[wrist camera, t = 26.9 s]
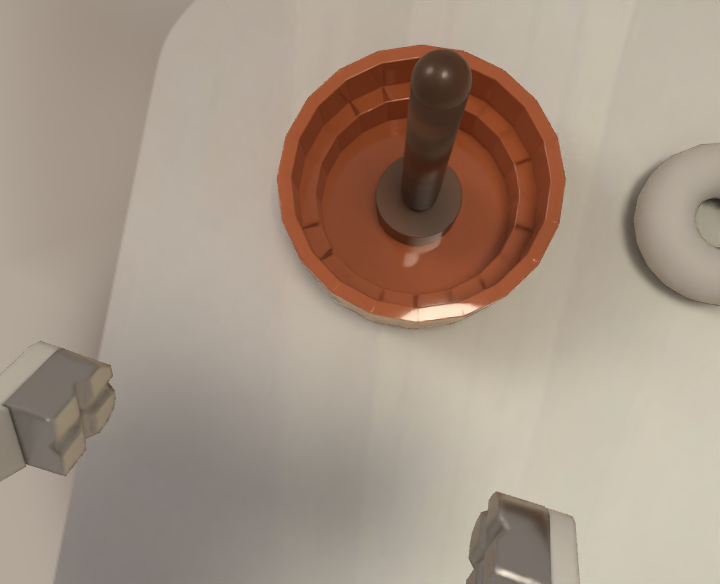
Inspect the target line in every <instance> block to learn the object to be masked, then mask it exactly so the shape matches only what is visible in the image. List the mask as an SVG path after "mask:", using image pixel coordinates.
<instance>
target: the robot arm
mask: <svg viewBox="0 0 720 584" xmlns="http://www.w3.org/2000/svg"><path fill="white" fill-rule="evenodd" d="M112 377H113V373H112V368H111V365H109V364H106V363H103V362H100V361H97V360H94V359H91V358H89V357H86V356H83V355H80V354H77V353H74V352H71V351H69V350H66V349H63V348H60V347H57V346H54V345H51V344H48V343H45V342H42V341H39V342H37V343H35V344H33V345H31V346H30V347H29V348H28V349H27V350H26V351H25V352H23V353H22V354H21V355H20V356H19V357H18V358H17V359H16V360H15V361H14V362H13V363H12V364H11V365H10V366H9V367H7V368H6V369H5V370H4V371H3V372H2V373H1V374H0V481H2V480H3V479H5V478H7V477H9V476H11V475H12V474H14V473H16V472H18V471H19V470H21V469H23V468H25V467H26V464H27V465H31V466H34V467H37V468H40V469H43V470H47V471H50V472H53V473H56V474H59V475H63V476H66V475H67V474H68V473H69V471H70V470H71V468H73V466H74V465H75V464H76V462H77V461H78V460H79V459H80V457H81V456H82V455H83V453H84V452H85V451H86V439H87V438H89V437H91V436H93V435H96V434H98V433H100V431H101V430H102V429H103V427H104V426H105V425H106V423H107V422H108V420H109V418H110V416H111V414H112V411H113V409H114V405H115V399H116V397H115V390H114V389H113V388H112V386H111V385H110V384H109V383H108V382H109V380H110V379H111V378H112ZM469 560H470V562H471V564H472V566H473V568H474V570H473V571H472V573H471V574H470V576H469V577H468V579H467V580H466V584H580V579H579V566H578V552H577V538H576V524H575V521H574V519H573V517H572V516H570V515H568V514H564V513H561V512H558V511H555V510H551V509H548V508H545V506H542V505H538V504H535V503H532V502H529V501H526V500H522V499H519V498H516V497H513V496H510V495H506V494H503V493H500V492H495V493H493V495H492V496H491V498H490V499H489V503H488V510H487V511H484V512H481V514H480V516H479V517H478V519H477V521H476V523H475V526H474V529H473V532H472V536H471V542H470V549H469Z"/></svg>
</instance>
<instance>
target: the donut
mask: <svg viewBox="0 0 720 584" xmlns="http://www.w3.org/2000/svg"><path fill="white" fill-rule="evenodd" d="M709 198H718V199H720V143H713V144H701V145H698V146H695V147H693V148H690V149H688V150H685V151H683V152H680V153H678V154H675V155H673V156H671V157H670V158H669V159H668V160H667V161H665V162H664V163H663V164H662V165H661V166H660V167H658V168H657V169H656V170H655V171H654V172H653V173H652V174H651V175H650V177H649V179H648V180H647V182H646V184H645V185H644V187H643V189H642V190H641V192H640V194H639V196H638V200H637V205H636V210H635V215H634V226H635V233H636V241H637V245H638V247H639V249H640V251H641V253H642V255H643V257H644V260H645V262H646V264H647V266H648V267H649V268H650V269H651V270H652V271H653V272H654V274H655V275H656V276H657V277H658V278H659V279H660V280H661V281H662V282H663V283H664V284H665V285H666V286H667V287H669V288H671V289H673V290H674V291H676V292H678V293H679V294H681V295H683V296H685V297H686V298H688V299H692V300H696V301H700V302H704V303H709V304H713V305H720V249H719V248H715V247H713V246H712V245H710V244H708V243H707V242H706V240H705V239H704V238H703V237H702V236H701V234H700V232H699V230H698V228H697V224H696V212H697V209H698V208H699V206H700V204H701V203H702V202H703V201H704V200H707V199H709Z"/></svg>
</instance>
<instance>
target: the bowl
mask: <svg viewBox="0 0 720 584" xmlns="http://www.w3.org/2000/svg"><path fill="white" fill-rule="evenodd" d="M436 49H448V48H441V47H434V46H427V45H416V46H409V47H402V48H396V49H389V50H382V51H379V52H378V51H377V52H375V53H373V54H371V55H369V56H366V57H364V58H362V59H360V60H358V61H356V62H354V63H352V64H350V65H347V66H345V67H343V68H341V69H339V70H338V71H337V72H336V73H335V74H334V75H332V76H331V77H330V78H329V79H328V80H327V81H326V82H325V83H324V84H323V85H322V86H320V87H319V88H318V89H317V90H316V91H315V92H314V93H313V94H312V95H311V96H310V97H308V100H306V102H305V104H304V105H303V107H302V109H301V111H300V112H299V114H298V116H297V118H296V119H295V121H294V123H293V125H292V126H291V128H290V130H289V132H288V133H287V136H286V137H285V142H284V147H283V151H282V156H281V161H280V166H279V171H278V175H277V182H278V191H279V199H280V208H281V217H282V221H283V224H284V226H285V228H286V230H287V232H288V234H289V237H290V239H291V241H292V243H293V245H294V247H295V249H296V251H297V254H298V256H299V258H300V260H301V261H302V262H303V264H304V265H305V266H306V267H307V269H308V270H309V271H310V273H311V274H312V275H313V276H314V277H315V278H316V279H317V281H318V282H319V283H320V284H321V285H322V286H323V287H324V288H325V289H326V290H327V291H328V292H329V293H330V294H331V295H332V296H333V297H334V298H335V299H336V300H337V302H338V303H340V304H341V305H343V306H345V307H347V308H349V309H350V310H352V311H354V312H356V313H358V314H360V315H362V316H363V317H365V318H367V319H369V320H371V321H373V322H376V323H381V324H387V325H392V326H398V327H403V328H409V329H418V328H426V327H433V326H441V325H448V324H452V323H455V322H457V321H460V320H462V319H464V318H466V317H468V316H470V315H472V314H474V313H476V312H478V311H480V310H482V309H484V308H487V307H488V306H490V305H492V304H493V303H495V302H497V301H499V300H500V299H502V298H504V297H505V296H507V295H508V294H509V293H510V292H511V291H512V290H513V289H514V288H515V287H516V286H517V285H518V284H519V283H520V282H521V281H522V280H523V279H524V278H525V277H526V276H527V275H528V274H530V273H531V272H532V271H533V270H534V269H535V268H536V267H537V266H538V264H539V263H540V261H541V259H542V257H543V255H544V253H545V251H546V249H547V247H548V245H549V243H550V242H551V240H552V238H553V236H554V234H555V232H556V230H557V228H558V224H559V222H560V215H561V209H562V202H563V195H564V188H565V180H566V179H565V174H564V169H563V163H562V158H561V153H560V147H559V142H558V138H557V136H556V134H555V132H554V130H553V128H552V127H551V125H550V123H549V121H548V119H547V118H546V116H545V114H544V112H543V111H542V109H541V107H540V105H539V103H538V102H537V100H535V98H534V97H533V96H532V95H531V94H530V93H528V92H527V91H526V90H525V89H524V88H523V87H522V86H521V85H520V84H519V83H518V82H517V81H515V80H514V79H513V78H512V77H511V76H510V75H509V74H508V73H507V72H506V71H503V69H501V68H499V67H497V66H495V65H493V64H491V63H488V62H486V61H484V60H482V59H480V58H478V57H476V56H474V55H472V54H469V53H467V52H464V51H461V50H455V49H450V50H453V51H455V52H457V53H459V54H460V55H461V56H463V57H464V58H465V60H466V61H467V62H468V64H469V66H470V69H471V73H472V86H471V90H470V93H469V97H468V100H467V103H466V106H465V110H464V113H463V116H462V119H461V123H460V126H459V129H458V132H457V136H456V139H455V142H454V145H453V149H452V152H451V155H450V159H449V162H448V165H449V166H450V167H451V168H452V169H453V170H454V172H455V173H456V175H457V177H458V178H459V181H460V183H461V187H462V205H461V208H460V211H459V213H458V215H457V218H456V220H455V222H454V224H453V226H452V227H451V229H450V230H449V231H448V233H447V234H446V235H444V236H443V237H442V238H441V239H439V240H438V241H436V242H434V243H431V244H428V245H423V246H411V245H406V244H403V243H400V242H398V241H396V240H395V239H393V238H392V237H391V236H389V235H388V234H387V233H386V231H385V230H384V229H383V227H382V226H381V224H380V222H379V219H378V216H377V209H376V188H377V184H378V181H379V179H380V177H381V175H382V174H383V172H384V171H385V170H386V168H387V167H388V166H389V165H391V164H392V163H393V162H395V161H396V160H398V159H400V158H402V157H404V151H405V139H406V128H407V116H408V105H409V94H410V82H411V75H412V72H413V69H414V67H415V65H416V63H417V62H418V61H419V60H420V58H421V57H422V56H424V55H425V54H426V53H428V52H430V51H432V50H436Z"/></svg>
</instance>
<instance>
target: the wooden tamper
mask: <svg viewBox="0 0 720 584" xmlns="http://www.w3.org/2000/svg"><path fill="white" fill-rule="evenodd" d="M471 86H472V73H471V69H470V66H469V64H468V62H467V61H466V60H465V58H464V57H463V56H461V55H460V54H459V53H457V52H455V51H453V50H450V49H436V50H432V51H430V52H428V53H426V54H425V55H424V56H422V57H421V58H420V60H419V61H418V62H417V63H416V65H415V67H414V69H413V72H412V75H411V82H410V94H409V105H408V116H407V128H406V139H405V151H404V157H402V158H400V159H398V160H396V161H395V162H393V163H392V164H391V165H389V166H388V167H387V168H386V170H385V171H384V172H383V174H382V175H381V177H380V179H379V181H378V184H377V188H376V209H377V216H378V219H379V222H380V224H381V226H382V227H383V229H384V230H385V231H386V233H387V234H388V235H389V236H391V237H392V238H393V239H395V240H396V241H398V242H400V243H403V244H406V245H411V246H423V245H428V244H431V243H434V242H436V241H438V240H439V239H441V238H442V237H443V236H444V235H446V234H447V233H448V231H449V230H450V229H451V227H452V226H453V224H454V222H455V220H456V218H457V215H458V213H459V211H460V208H461V205H462V187H461V183H460V181H459V178H458V177H457V175H456V173H455V172H454V170H453V169H452V168H451V167H450V166H449V165H448V162H449V159H450V155H451V152H452V149H453V145H454V142H455V139H456V136H457V132H458V129H459V126H460V123H461V119H462V116H463V113H464V110H465V106H466V103H467V100H468V97H469V93H470V90H471Z"/></svg>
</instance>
